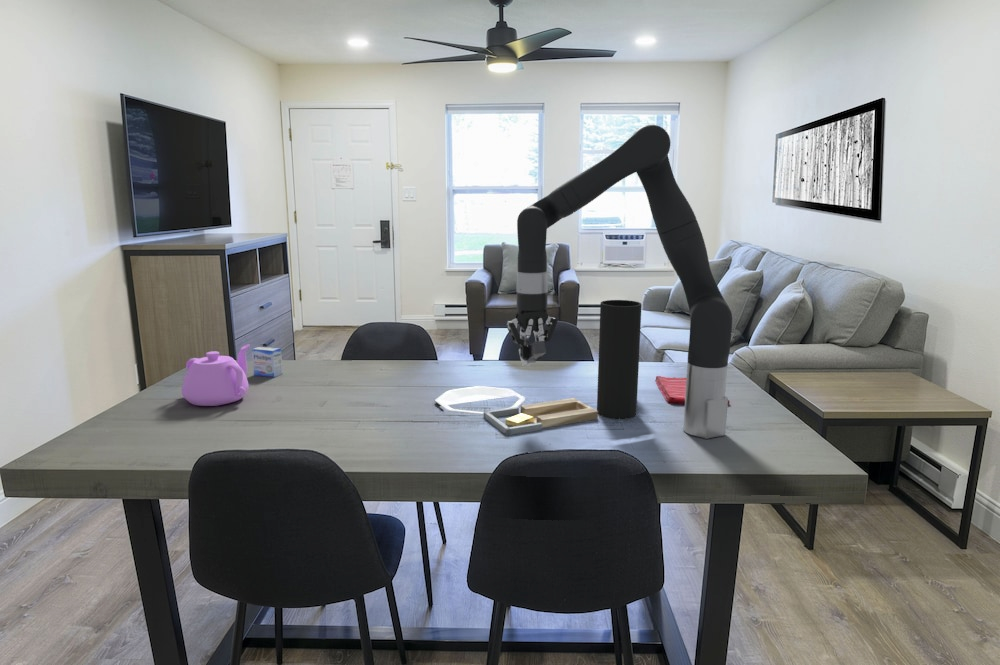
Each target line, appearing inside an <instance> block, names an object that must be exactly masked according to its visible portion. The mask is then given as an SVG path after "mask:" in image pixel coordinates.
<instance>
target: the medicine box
mask: <svg viewBox="0 0 1000 665" xmlns="http://www.w3.org/2000/svg"><path fill="white" fill-rule="evenodd" d="M251 353H252V354H251V356H252V366H253V367H252V368H253V371H252V372H253V375H254V376H256V377H266V378H267V377H268V378H277V377H279V376H280V375H283V362H282V361H283V360H282V358H283V357H282V349H281V348H279V347H269V346H268V347H266V346H258V347H255V348H253V349H252V350H251Z"/></svg>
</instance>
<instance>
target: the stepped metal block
mask: <svg viewBox="0 0 1000 665" xmlns="http://www.w3.org/2000/svg"><path fill="white" fill-rule="evenodd" d="M527 346H528V360H527V361H525V360H523V359H522V358H521V356H520V348H519V349H518V354H519V358H520V361H521V366H522V367H528V366H529V367H530V366H533V365H534V364H536V363H537V360H539V359H538V358H539V357H541V358H542V357H543V356H544V355H546V354H547V353H548V352H547V349H546V342H544V341H538V342H536V341H533V342H531V343H529V344H528V345H527ZM542 355H543V356H542Z"/></svg>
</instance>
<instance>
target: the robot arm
mask: <svg viewBox="0 0 1000 665" xmlns="http://www.w3.org/2000/svg"><path fill="white" fill-rule="evenodd" d="M670 149H671V137H670V135H669V133H668V131H666V130H665V128H663V127H661V126H659V125H657V124H648V125H643V126H641V127H638V129H636V131H635V130H634V132H633V133H632V135H631V136H630V137H629V138H628V139H627V140H625V142H624V143H623V144H622V145H620V146H619V147H618V148H617V149H615V150H614V151H613V152H611V153H610V154H609V155H608V156H606V157H604V158H603V159H602V160H600V161H599V162H597V163H595V164H594V165H592V166H590V167H589V168H587V169H585V170H583V171H581V172H580V173H578V174H576V175H575V176H574V177H572V178H570V179H568V180H567V181H566V182H564V183H562V184H561V185H560V186H558V187H556V188H555V189H554V190H552V191H551V192H550V193H549V194H548V195H546V196H544V197H543V198H541V199H539V200H537V201H536V202H534V203H533V204H530V205H529V206H527V207H526V208H524V209H523V210H521V212H520V213H519V215H518V216H517V219H516V220H517V221H516V222H517V223H516V226H517V227H516V229H517V231H516V232H517V245H518V252H517V277H516V286H515V287H516V288H515V289H516V314H515V317H514V318H513V319H511V320H507V321H506V322H505V326H506V328H507V330H508V333H509V335H510V337H511V340H512V342H513V343H514V344H518V345H519V349H520V354H519V357H520V356H521V358H522V359H523V360H525V361H527V360H528V345H529V340H530V338H531V335H532V332H533V334H534V342H538V341H544V343H547V342H550V341H551V339H552V336H553V334H554V333H555V332H554V331H555V329H556V326H557V324H558V319H557V318H555V317H552V316H549V313H548V311H547V310H548V294H549V293H548V291H549V290H548V289H549V288H548V282H549V281H548V274H547V271H548V270H547V268H548V267H547V266H548V264H547V263H548V262H547V261H548V260H547V258H548V257H547V248H546V246H547V233H548V232H547V231H548V230H547V229H549V228H550V227H552V226H554V225H555V224H556V223H558V222H559V221H561V220H562V219H564V218H566V217H570V216H571V215H572V214H574V213H576V212H577V211H579V210H581V209H582V208H584V207H586V206H587V205H588V204H590V203H591V202H593V201H594V200H595V199H597V198H598V197H600V196H601V195H602V194H604V193H605V192H606V191H608V190H609V189H610V188H611V187H613V186H614V185H615V184H617V183H619V182H621V181H622V180H624V179H625V178H627V177H630V175H633V174H635V173H636V175H637V177H638V178H639V181H640V182H641V185H642V187H643V189H644V191H645V194H646V197H647V200H648V204H649V207H650V208H649V209H650V212H651V215H652V219H653V222H654V225H655V227H656V231H657V234H658V237H659V239H660V243H661V245H662V248H663V250H664V252H665V255H666V257H667V259H668V260H669V262H670V265H671V267H672V268H673V270H674V271H675V273H676V275H677V276H678V278H679V281H680V283H681V285H682V287H683V291H684V295H685V298H686V301H687V302H686V303H687V306H688V311H689V317H690V323H689V324H690V325H689V326H690V328H689V339H688V340H689V342H688V350H687V364H686V367H687V368H686V377H685V378H686V393H685V404H684V411H683V424H682V425H683V426H682V427H683V431H684V432H685V433H686V434H688V435H691V436H694V437H698V438H703V439H706V440H707V439H712V438H716V437H722V436H726V434H727V432H726V431H727V430H726V429H727V418H728V406H729V405H728V400H729V398H728V397H727V396H726V390H727V378H728V363H729V356H730V352H731V343H732V332H733V314H732V310H731V308H730V306H729V305H728V302H726V300H725V298H724V296H723V294H722V292H721V291H720V288H719V287H718V285H717V282H716V280H715V277H714V275H713V273H712V270H711V266H710V261H709V257H708V251H707V247H706V243H705V239H704V236H703V233H702V231H701V227H700V224H699V222H698V220H697V217H696V214H695V212H694V210H693V208H692V207H691V204H690V203H689V201H688V199H687V198H686V196H685V195H684V193H683V192H682V190H681V188H680V187H679V185H678V183H677V181H676V178H675V176H674V173H673V170H672V166H671V163H670V159H669V153H670ZM518 325H519V327H520V330H519V332H518V330H517V328H518ZM544 326H545V328H544ZM543 356H544V355H542V356H541V357H539V358H538V359H537V360H541V359H542V357H543ZM521 358H520V359H521Z"/></svg>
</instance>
